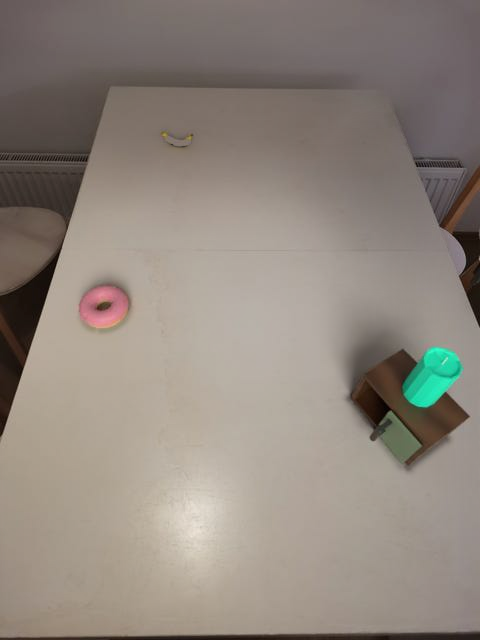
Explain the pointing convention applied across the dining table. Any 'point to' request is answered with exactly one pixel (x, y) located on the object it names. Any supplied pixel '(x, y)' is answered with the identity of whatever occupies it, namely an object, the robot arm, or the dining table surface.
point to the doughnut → (108, 315)
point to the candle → (432, 376)
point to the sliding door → (396, 437)
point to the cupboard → (406, 403)
